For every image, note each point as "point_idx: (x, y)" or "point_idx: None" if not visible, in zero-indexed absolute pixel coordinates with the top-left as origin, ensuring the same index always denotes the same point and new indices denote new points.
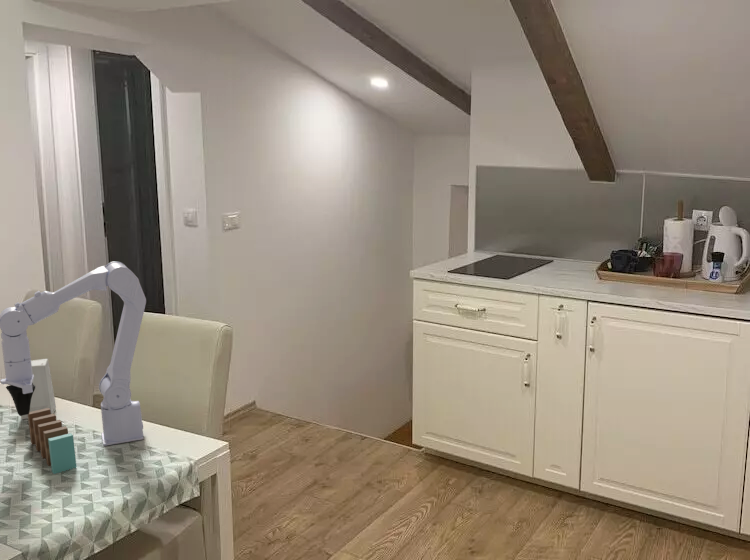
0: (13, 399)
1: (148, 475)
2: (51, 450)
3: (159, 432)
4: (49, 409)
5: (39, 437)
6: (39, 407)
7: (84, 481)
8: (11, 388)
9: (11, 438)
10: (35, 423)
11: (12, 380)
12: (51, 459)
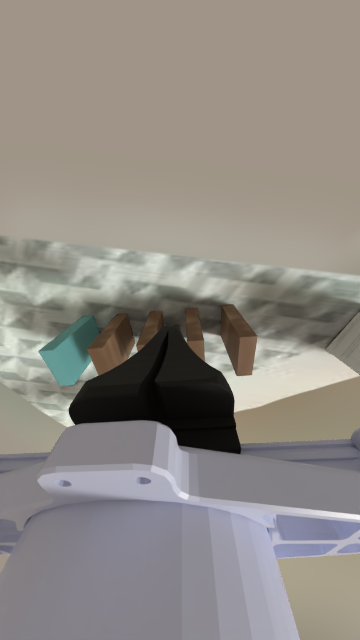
0: (169, 351)
1: (44, 397)
2: (55, 339)
3: None
4: (238, 374)
5: (153, 328)
6: (355, 345)
7: (44, 345)
8: (122, 410)
9: (282, 276)
10: (187, 338)
11: (24, 532)
12: (72, 327)
